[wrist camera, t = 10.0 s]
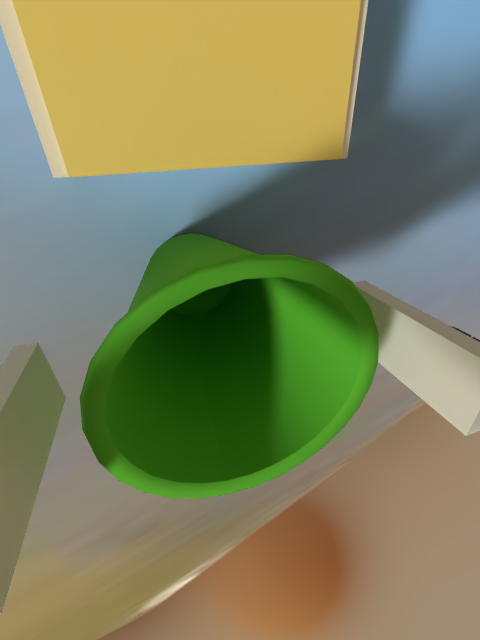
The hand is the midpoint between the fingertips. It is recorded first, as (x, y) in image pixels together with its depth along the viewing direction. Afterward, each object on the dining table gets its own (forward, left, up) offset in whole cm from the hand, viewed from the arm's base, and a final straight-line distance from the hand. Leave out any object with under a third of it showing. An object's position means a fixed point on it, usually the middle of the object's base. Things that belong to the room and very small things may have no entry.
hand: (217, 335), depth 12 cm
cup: (0, 0, -7) cm, 7 cm away
